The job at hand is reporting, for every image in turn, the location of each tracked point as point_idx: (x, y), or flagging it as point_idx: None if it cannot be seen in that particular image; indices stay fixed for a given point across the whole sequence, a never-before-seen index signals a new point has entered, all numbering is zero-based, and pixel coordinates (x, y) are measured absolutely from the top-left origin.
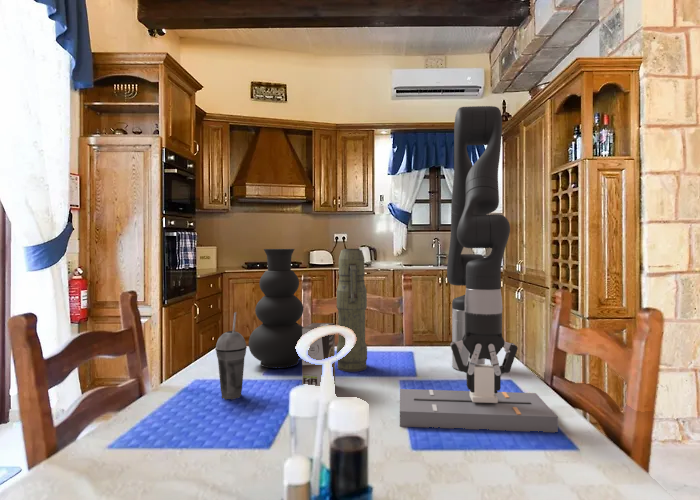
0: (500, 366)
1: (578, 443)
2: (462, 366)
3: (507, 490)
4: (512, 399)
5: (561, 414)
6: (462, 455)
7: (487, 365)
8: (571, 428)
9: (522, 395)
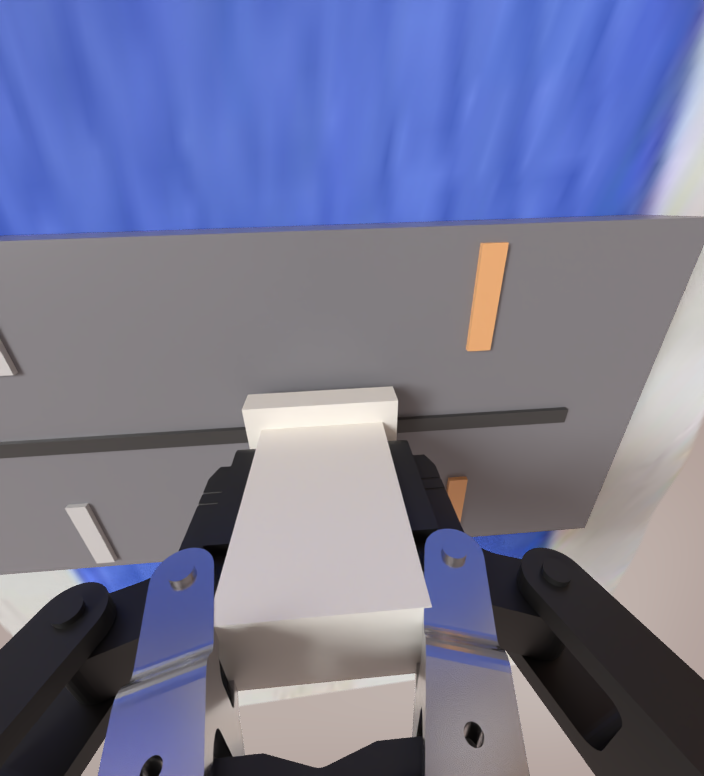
0: (504, 619)
1: (564, 533)
2: (109, 707)
3: (325, 687)
4: (496, 368)
5: (688, 315)
6: None
7: (373, 634)
8: (619, 447)
9: (593, 283)
